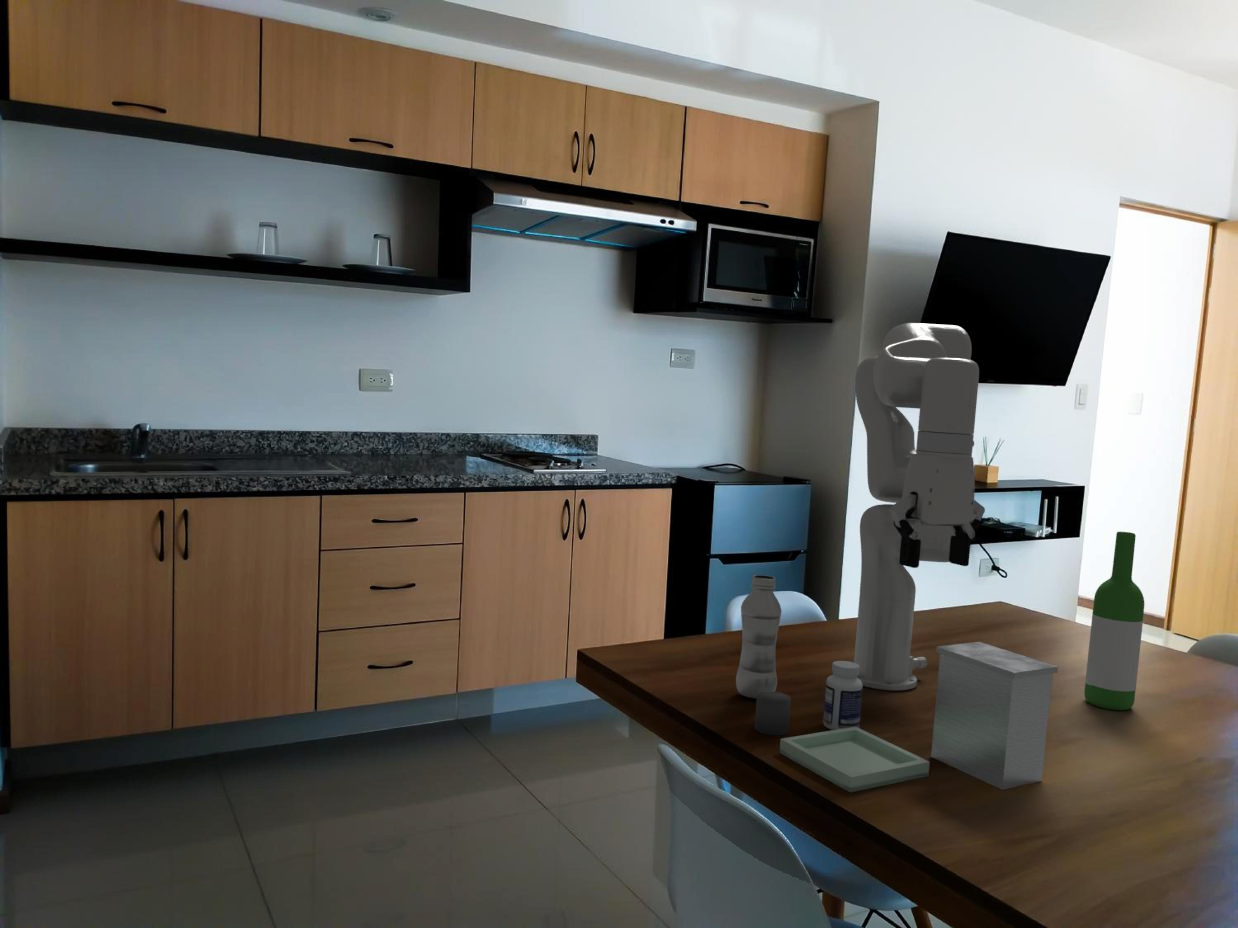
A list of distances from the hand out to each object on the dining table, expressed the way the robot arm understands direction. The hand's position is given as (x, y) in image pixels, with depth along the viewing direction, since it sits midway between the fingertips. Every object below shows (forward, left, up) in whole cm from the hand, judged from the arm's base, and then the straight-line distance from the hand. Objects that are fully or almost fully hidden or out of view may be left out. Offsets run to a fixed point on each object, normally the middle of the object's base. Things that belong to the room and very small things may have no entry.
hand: (934, 565), depth 137 cm
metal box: (-3, +9, -27) cm, 29 cm away
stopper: (+16, -14, -27) cm, 34 cm away
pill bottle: (+5, -11, -27) cm, 29 cm away
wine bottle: (-49, -3, -27) cm, 56 cm away
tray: (+14, +1, -27) cm, 30 cm away
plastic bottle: (+9, -27, -27) cm, 39 cm away
